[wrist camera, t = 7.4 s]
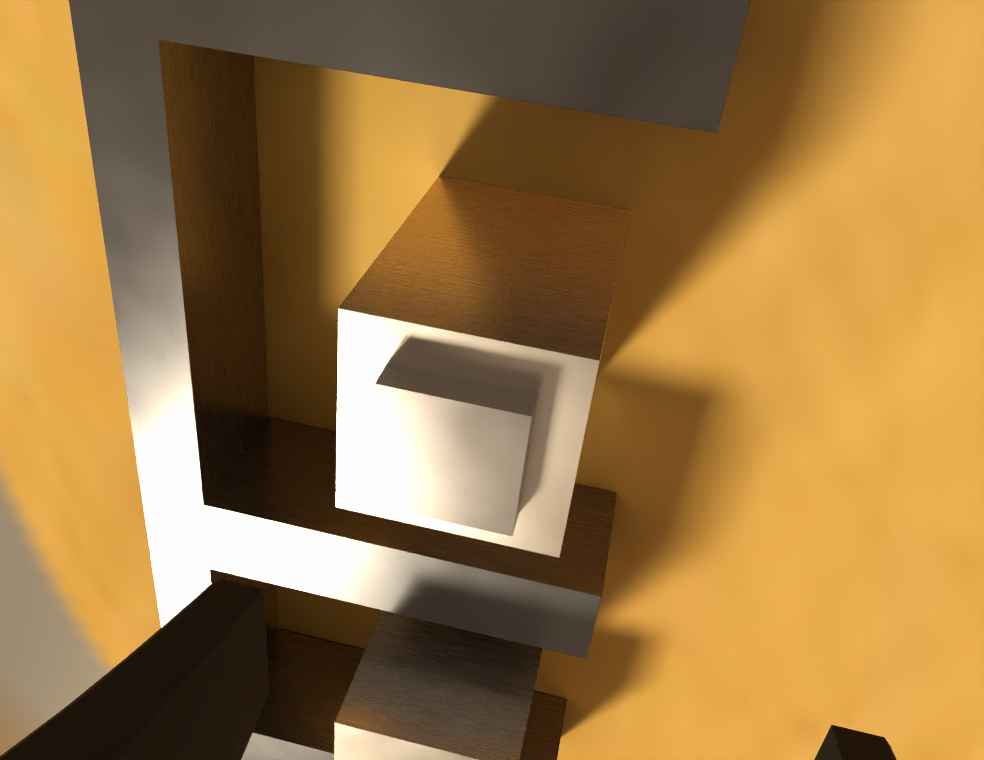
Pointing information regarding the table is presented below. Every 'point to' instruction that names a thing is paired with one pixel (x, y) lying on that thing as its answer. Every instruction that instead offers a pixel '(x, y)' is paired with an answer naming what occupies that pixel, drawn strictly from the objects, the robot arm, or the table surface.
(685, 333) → the table surface
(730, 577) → the table surface
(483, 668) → the seated block
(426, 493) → the block
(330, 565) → the rail
